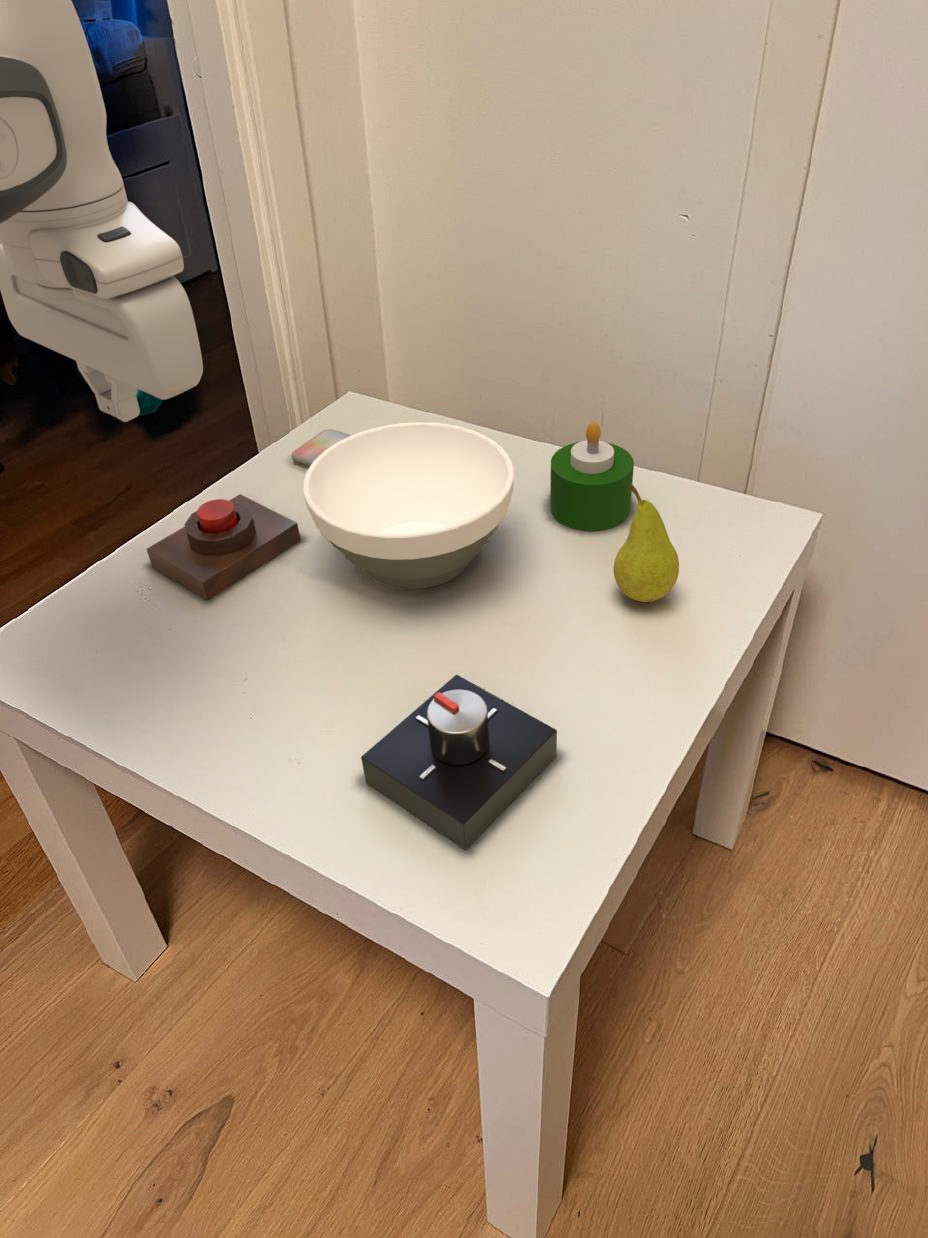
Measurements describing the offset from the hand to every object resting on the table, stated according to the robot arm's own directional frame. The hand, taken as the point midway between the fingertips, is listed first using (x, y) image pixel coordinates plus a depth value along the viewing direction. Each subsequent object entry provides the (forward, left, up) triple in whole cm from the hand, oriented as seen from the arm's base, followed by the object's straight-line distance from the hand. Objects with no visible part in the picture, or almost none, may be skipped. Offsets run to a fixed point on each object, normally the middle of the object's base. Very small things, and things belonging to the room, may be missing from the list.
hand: (120, 414), depth 74 cm
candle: (+37, -21, -21) cm, 47 cm away
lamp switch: (+9, +4, -21) cm, 23 cm away
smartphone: (+29, +5, -21) cm, 36 cm away
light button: (+9, +4, -17) cm, 20 cm away
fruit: (+28, -33, -21) cm, 48 cm away
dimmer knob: (+2, -33, -18) cm, 37 cm away
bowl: (+20, -12, -21) cm, 31 cm away
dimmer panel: (+2, -33, -21) cm, 39 cm away
